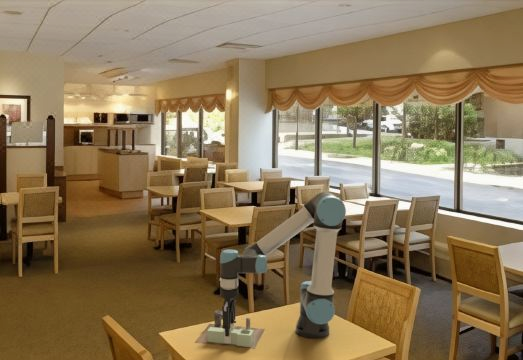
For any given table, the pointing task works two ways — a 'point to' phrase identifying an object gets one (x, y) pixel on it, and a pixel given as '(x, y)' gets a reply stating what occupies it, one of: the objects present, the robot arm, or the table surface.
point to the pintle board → (219, 314)
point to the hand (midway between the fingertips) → (229, 340)
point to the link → (237, 336)
